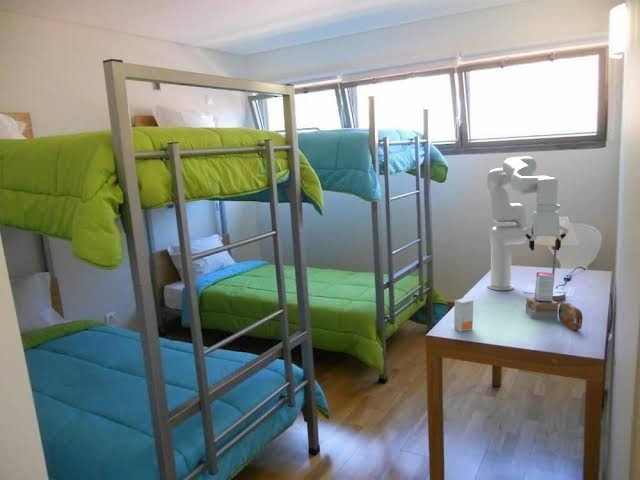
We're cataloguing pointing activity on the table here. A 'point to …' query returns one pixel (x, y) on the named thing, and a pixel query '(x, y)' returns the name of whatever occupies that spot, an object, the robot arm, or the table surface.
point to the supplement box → (544, 287)
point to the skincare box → (463, 314)
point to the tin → (570, 316)
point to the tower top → (541, 305)
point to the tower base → (541, 314)
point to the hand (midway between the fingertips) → (544, 249)
